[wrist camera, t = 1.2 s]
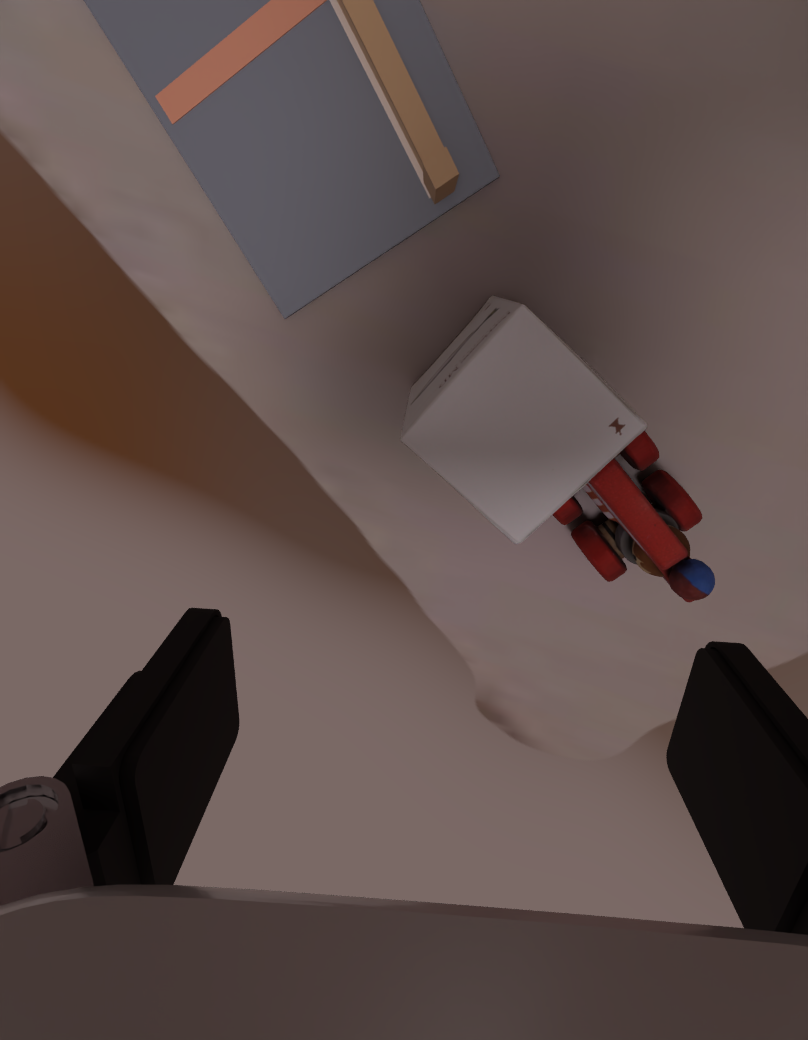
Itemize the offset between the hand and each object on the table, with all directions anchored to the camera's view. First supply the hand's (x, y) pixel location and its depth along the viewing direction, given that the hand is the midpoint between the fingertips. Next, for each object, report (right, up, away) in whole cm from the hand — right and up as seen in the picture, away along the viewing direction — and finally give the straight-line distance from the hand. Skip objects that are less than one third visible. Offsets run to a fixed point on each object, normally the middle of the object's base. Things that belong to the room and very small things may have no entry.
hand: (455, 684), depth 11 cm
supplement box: (+4, +12, +23) cm, 26 cm away
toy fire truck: (+12, +6, +25) cm, 29 cm away
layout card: (-8, +28, +17) cm, 33 cm away
